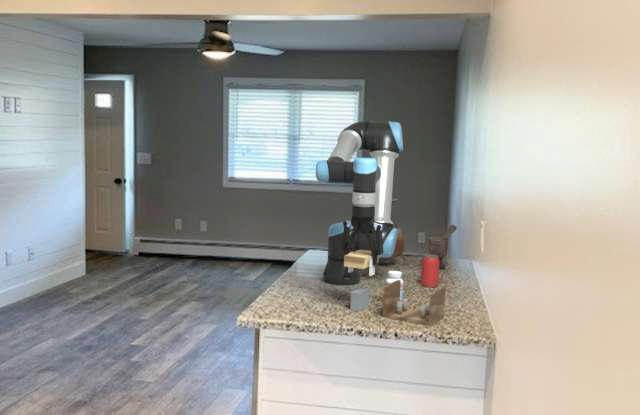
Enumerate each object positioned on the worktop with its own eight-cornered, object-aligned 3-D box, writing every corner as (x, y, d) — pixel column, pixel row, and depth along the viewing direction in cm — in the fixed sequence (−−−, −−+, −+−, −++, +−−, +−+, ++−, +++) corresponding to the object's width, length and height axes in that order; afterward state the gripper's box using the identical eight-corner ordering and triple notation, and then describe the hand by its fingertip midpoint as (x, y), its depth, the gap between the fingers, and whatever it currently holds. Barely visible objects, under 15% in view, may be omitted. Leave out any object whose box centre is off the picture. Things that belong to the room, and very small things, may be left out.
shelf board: (363, 269, 193) (363, 258, 193) (343, 266, 197) (344, 255, 196) (378, 262, 204) (378, 251, 203) (359, 259, 207) (360, 249, 206)
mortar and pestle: (451, 266, 274) (454, 222, 272) (455, 270, 266) (457, 225, 264) (426, 265, 275) (428, 221, 273) (428, 269, 267) (431, 224, 264)
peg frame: (382, 317, 191) (384, 286, 190) (396, 309, 201) (397, 279, 200) (432, 326, 183) (433, 294, 182) (443, 317, 193) (445, 287, 192)
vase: (367, 257, 288) (370, 195, 284) (407, 261, 281) (410, 198, 278) (353, 266, 266) (356, 199, 263) (396, 271, 260) (400, 202, 257)
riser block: (350, 309, 199) (350, 291, 198) (360, 304, 205) (361, 287, 205) (358, 311, 197) (359, 293, 196) (368, 305, 204) (369, 288, 203)
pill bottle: (397, 307, 203) (399, 275, 201) (381, 304, 206) (383, 272, 205) (405, 303, 208) (406, 271, 207) (389, 300, 211) (390, 269, 210)
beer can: (437, 288, 232) (439, 257, 230) (420, 287, 233) (422, 256, 232) (438, 284, 238) (439, 254, 237) (421, 283, 239) (422, 253, 238)
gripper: (331, 203, 199) (329, 271, 202) (387, 208, 189) (384, 280, 192) (341, 201, 205) (340, 266, 209) (396, 206, 196) (393, 275, 199)
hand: (361, 273), depth 201 cm, fingers closed on shelf board, 7 cm apart
